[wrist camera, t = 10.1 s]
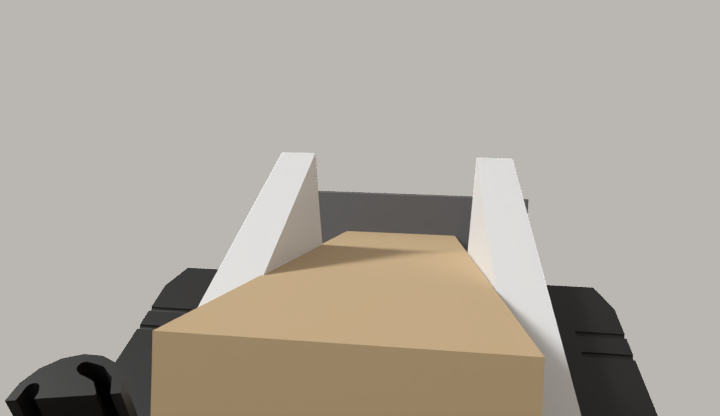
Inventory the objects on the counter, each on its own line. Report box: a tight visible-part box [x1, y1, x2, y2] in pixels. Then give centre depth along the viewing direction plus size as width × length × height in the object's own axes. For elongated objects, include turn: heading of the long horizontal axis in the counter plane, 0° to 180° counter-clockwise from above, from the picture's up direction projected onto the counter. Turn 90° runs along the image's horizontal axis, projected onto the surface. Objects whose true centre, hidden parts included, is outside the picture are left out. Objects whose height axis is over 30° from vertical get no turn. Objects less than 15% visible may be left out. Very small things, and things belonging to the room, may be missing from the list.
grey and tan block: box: [151, 191, 545, 416], centre depth 15 cm, size 8×21×6 cm, turn 173°
